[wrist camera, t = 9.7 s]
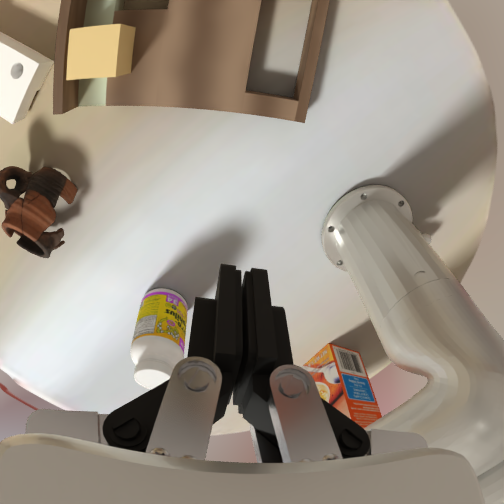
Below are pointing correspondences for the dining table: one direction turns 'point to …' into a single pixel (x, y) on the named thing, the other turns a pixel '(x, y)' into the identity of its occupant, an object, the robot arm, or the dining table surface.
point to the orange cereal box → (344, 383)
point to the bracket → (19, 77)
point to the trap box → (184, 58)
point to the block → (100, 51)
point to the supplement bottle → (158, 336)
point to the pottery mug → (34, 207)
